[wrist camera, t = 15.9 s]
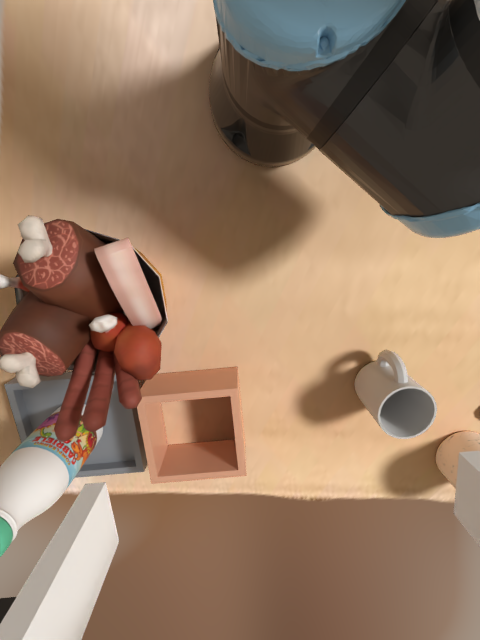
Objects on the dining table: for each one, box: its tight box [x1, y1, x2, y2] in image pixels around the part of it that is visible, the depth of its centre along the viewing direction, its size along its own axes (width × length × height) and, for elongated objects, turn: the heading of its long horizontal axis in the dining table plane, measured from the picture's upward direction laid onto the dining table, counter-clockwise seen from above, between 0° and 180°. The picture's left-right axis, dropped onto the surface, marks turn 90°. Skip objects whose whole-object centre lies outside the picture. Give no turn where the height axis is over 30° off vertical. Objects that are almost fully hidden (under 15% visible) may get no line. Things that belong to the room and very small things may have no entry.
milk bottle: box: [0, 404, 103, 557], centre depth 40 cm, size 8×8×20 cm
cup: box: [354, 350, 437, 439], centre depth 44 cm, size 7×10×9 cm
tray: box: [4, 372, 147, 478], centre depth 49 cm, size 16×17×2 cm
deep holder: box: [137, 367, 246, 484], centre depth 47 cm, size 13×13×7 cm
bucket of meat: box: [0, 215, 168, 442], centre depth 36 cm, size 20×16×20 cm
